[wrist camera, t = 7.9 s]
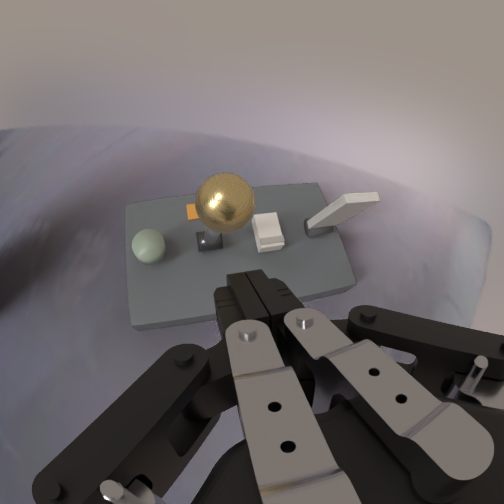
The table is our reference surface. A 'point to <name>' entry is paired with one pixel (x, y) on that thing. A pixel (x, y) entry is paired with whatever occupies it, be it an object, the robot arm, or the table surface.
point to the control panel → (228, 256)
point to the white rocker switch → (267, 232)
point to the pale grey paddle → (339, 212)
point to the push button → (149, 246)
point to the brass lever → (222, 208)
